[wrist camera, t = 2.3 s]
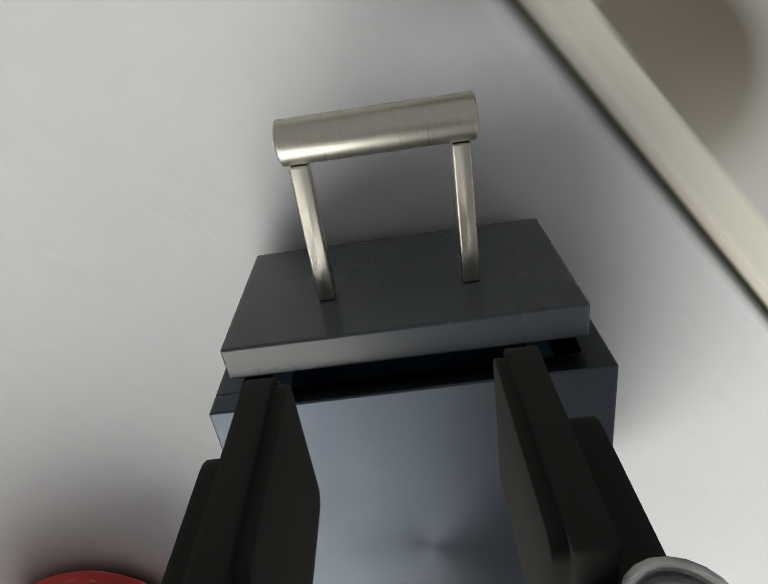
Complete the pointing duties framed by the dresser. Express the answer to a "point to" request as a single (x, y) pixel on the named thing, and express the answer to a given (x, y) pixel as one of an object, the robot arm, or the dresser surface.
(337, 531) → the drawer cabinet
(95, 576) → the flower pot
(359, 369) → the pull-out drawer
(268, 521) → the robot arm
